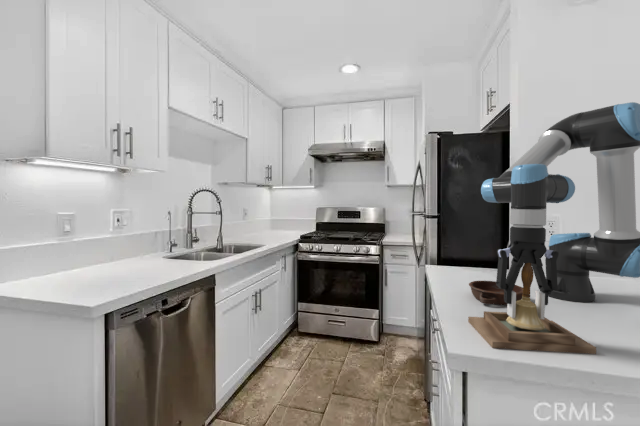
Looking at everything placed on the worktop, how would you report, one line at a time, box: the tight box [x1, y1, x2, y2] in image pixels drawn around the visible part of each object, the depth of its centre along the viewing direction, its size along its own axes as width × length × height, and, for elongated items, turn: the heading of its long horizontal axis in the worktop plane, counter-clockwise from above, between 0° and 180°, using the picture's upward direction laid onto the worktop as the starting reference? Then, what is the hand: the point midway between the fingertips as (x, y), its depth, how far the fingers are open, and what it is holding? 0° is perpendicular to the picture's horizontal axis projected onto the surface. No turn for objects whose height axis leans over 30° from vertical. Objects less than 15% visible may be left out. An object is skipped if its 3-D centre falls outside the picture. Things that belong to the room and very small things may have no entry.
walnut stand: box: [467, 310, 597, 355], centre depth 79 cm, size 22×16×4 cm
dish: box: [468, 280, 523, 306], centre depth 109 cm, size 18×22×5 cm
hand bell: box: [506, 263, 545, 330], centre depth 79 cm, size 8×8×16 cm
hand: (525, 316), depth 79 cm, fingers closed on hand bell, 6 cm apart
